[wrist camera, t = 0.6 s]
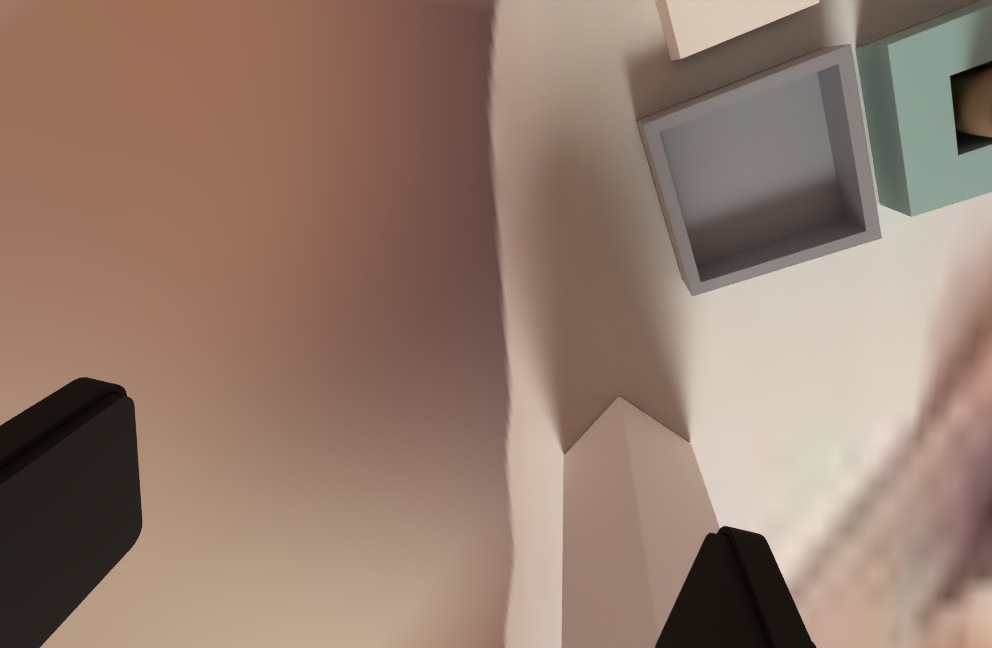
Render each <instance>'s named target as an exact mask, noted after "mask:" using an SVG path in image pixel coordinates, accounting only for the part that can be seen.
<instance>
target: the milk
mask: <svg viewBox="0 0 992 648" xmlns="http://www.w3.org/2000/svg"><path fill="white" fill-rule="evenodd" d="M719 529H720V528H719V525H718V522H717V519H716V516H715V513H714V510H713V507H712V504H711V501H710V498H709V495H708V492H707V489H706V487H705V484H704V481H703V478H702V475H701V472H700V469H699V466H698V463H697V460H696V457H695V454H694V451H693V448H692V445H691V444H690V443H689V442H687V441H686V440H684V439H683V438H681V437H680V436H678V435H677V434H675V433H674V432H672V431H671V430H669V429H668V428H666V427H665V426H663V425H662V424H660V423H659V422H657V421H656V420H654V419H653V418H651V417H650V416H648V415H647V414H645V413H644V412H642V411H641V410H639V409H638V408H637V407H635V406H634V405H632V404H631V403H629V402H628V401H626V400H625V399H623V398H622V397H620V396H619V397H617V398H616V399H615V401H614V402H613V403H612V404H611V405H610V406H609V407H608V408H607V409H606V410H605V411H604V413H603V414H602V415H601V416H600V417H599V418H598V419H597V420H596V421H595V422H594V423H593V424H592V426H591V427H590V428H589V429H588V430H587V431H586V432H585V433H584V434H583V435H582V436H581V438H580V439H579V440H578V441H577V442H576V443H575V444H574V445H573V446H572V447H571V448H570V449H569V451H568V452H567V453H566V454H565V455H564V463H563V567H562V648H655V645H656V643H657V640H658V638H659V636H660V634H661V632H662V630H663V627H664V625H665V623H666V621H667V619H668V617H669V614H670V612H671V610H672V608H673V606H674V604H675V601H676V599H677V597H678V595H679V593H680V591H681V589H682V586H683V584H684V582H685V580H686V578H687V576H688V573H689V571H690V569H691V567H692V565H693V563H694V560H695V558H696V556H697V554H698V552H699V550H700V547H701V545H702V543H703V541H704V539H705V537H706V536H707V534H709V533H716V534H717V532H718V531H719Z"/></svg>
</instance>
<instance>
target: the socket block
mask: <svg viewBox="0 0 992 648" xmlns="http://www.w3.org/2000/svg"><path fill="white" fill-rule="evenodd" d="M856 52H857V59H858V65H859V72H860V78H861V84H862V91H863V97H864V103H865V110H866V116H867V123H868V129H869V135H870V142H871V148H872V155H873V161H874V167H875V174H876V180H877V186H878V193H879V199H880V204H881V205H883V206H886V207H888V208H891V209H893V210H896V211H898V212H901V213H903V214H906V215H908V216H911V217H913V216H916V215H919V214H922V213H925V212H929V211H932V210H935V209H938V208H941V207H945V206H948V205H951V204H954V203H957V202H961V201H964V200H967V199H970V198H974V197H977V196H980V195H983V194H986V193H990V192H992V137H985V136H978V135H971V134H962V135H959V136H956V131H955V121H954V112H953V102H952V93H951V84H950V76H951V75H954V74H956V73H959V72H962V71H965V70H967V69H970V68H973V67H976V66H979V65H981V64H984V63H987V62H990V61H992V0H980V1H978V2H975V3H972V4H970V5H967V6H965V7H962V8H960V9H957V10H954V11H952V12H949V13H947V14H944V15H941V16H939V17H936V18H934V19H931V20H928V21H926V22H923V23H921V24H918V25H915V26H913V27H910V28H908V29H905V30H902V31H900V32H897V33H895V34H892V35H889V36H887V37H884V38H882V39H879V40H876V41H874V42H871V43H869V44H866V45H863V46H861V47H858V48H856Z"/></svg>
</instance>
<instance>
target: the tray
mask: <svg viewBox="0 0 992 648" xmlns="http://www.w3.org/2000/svg"><path fill="white" fill-rule="evenodd" d="M636 122H637V125H638V129H639V132H640V135H641V139H642V142H643V146H644V149H645V153H646V156H647V160H648V163H649V166H650V170H651V173H652V177H653V180H654V184H655V187H656V191H657V194H658V198H659V201H660V204H661V208H662V211H663V215H664V218H665V222H666V225H667V229H668V232H669V235H670V239H671V242H672V246H673V249H674V253H675V256H676V260H677V263H678V266H679V270H680V273H681V277H682V279H683V281H684V283H685V284H686V286H687V288H688V290H689V291H690V293H691V295H692V296H695V295H698V294H701V293H705V292H708V291H711V290H714V289H718V288H721V287H724V286H727V285H731V284H734V283H737V282H740V281H744V280H747V279H750V278H753V277H757V276H760V275H763V274H766V273H770V272H773V271H776V270H779V269H783V268H786V267H789V266H792V265H796V264H799V263H802V262H805V261H809V260H812V259H815V258H818V257H822V256H825V255H828V254H832V253H835V252H838V251H841V250H845V249H848V248H851V247H854V246H858V245H861V244H864V243H867V242H871V241H874V240H877V239H880V238H882V237H881V231H880V225H879V218H878V212H877V206H876V199H875V193H874V187H873V181H872V174H871V168H870V162H869V155H868V149H867V143H866V137H865V130H864V124H863V118H862V111H861V105H860V99H859V93H858V86H857V80H856V74H855V67H854V61H853V55H852V49H851V44H848V45H840V46H832V47H824V48H821V49H818V50H815V51H813V52H810V53H808V54H805V55H803V56H800V57H798V58H795V59H792V60H790V61H787V62H785V63H782V64H780V65H777V66H775V67H772V68H769V69H767V70H764V71H762V72H759V73H757V74H754V75H751V76H749V77H746V78H744V79H741V80H739V81H736V82H734V83H731V84H728V85H726V86H723V87H721V88H718V89H716V90H713V91H710V92H708V93H705V94H703V95H700V96H698V97H695V98H693V99H690V100H687V101H685V102H682V103H680V104H677V105H675V106H672V107H670V108H667V109H664V110H662V111H659V112H657V113H654V114H652V115H649V116H646V117H644V118H641V119H639V120H636Z"/></svg>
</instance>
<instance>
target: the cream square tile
mask: <svg viewBox="0 0 992 648" xmlns="http://www.w3.org/2000/svg"><path fill="white" fill-rule="evenodd" d="M655 1H656V5H657V9H658V12H659V16H660V20H661V24H662V28H663V32H664V35H665V39H666V43H667V47H668V51H669V55H670V58H671V61H673V60H679V59H682V58H685V57H687V56H690V55H692V54H695V53H697V52H700V51H702V50H704V49H707V48H709V47H712V46H714V45H717V44H719V43H722V42H724V41H726V40H729V39H731V38H734V37H736V36H739V35H741V34H744V33H746V32H748V31H751V30H753V29H756V28H758V27H761V26H763V25H766V24H768V23H770V22H773V21H775V20H778V19H780V18H783V17H785V16H788V15H790V14H792V13H795V12H797V11H800V10H802V9H805V8H807V7H810V6H812V5H814V4H817V3H819V0H655Z"/></svg>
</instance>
